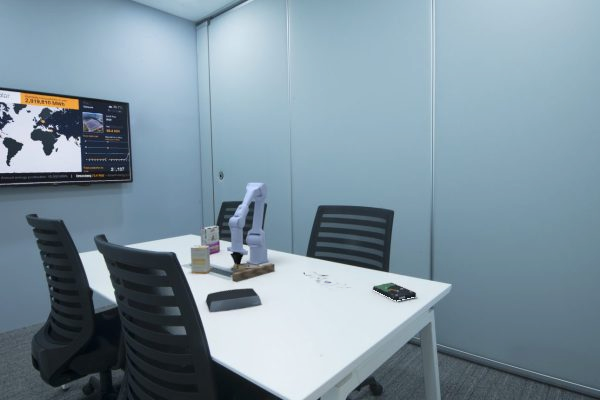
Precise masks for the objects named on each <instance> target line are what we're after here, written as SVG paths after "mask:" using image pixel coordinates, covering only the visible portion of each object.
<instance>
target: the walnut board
mask: <svg viewBox="0 0 600 400" xmlns="http://www.w3.org/2000/svg"><path fill="white" fill-rule="evenodd" d="M275 268H276V267H275V264H274V263H268V264H264V265H260V266H259V267H255V268H251V269H248V270H244V271H240V272H236V273H234V272H232V273H231V274H232V275H231V277H232V282H234V283H235V282H236V283H237V282H241V281H244V280H248V279H251V278H255V277H258V276H262V275H266V274H270V273H272V272H276V271H275Z"/></svg>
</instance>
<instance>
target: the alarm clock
mask: <svg viewBox="0 0 600 400" xmlns="http://www.w3.org/2000/svg"><path fill="white" fill-rule="evenodd" d="M259 266H261V265H260V264H253V263H248V262H243V263H240V264H238V265H237V264H234V263H233V265H232V267H230V271H231V272H232V273H236V272H240V271H244V270H248V269H251V268H255V267H259Z"/></svg>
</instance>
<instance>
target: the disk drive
mask: <svg viewBox="0 0 600 400" xmlns="http://www.w3.org/2000/svg"><path fill="white" fill-rule="evenodd" d="M373 290H375V291H377V292H379V293H381V294H383V295H385V296H387V297H390V298H391V299H393V300H396V301H397V300H402V299H407V298H411V297H416V298H417V292H415V291H413V290H410V289H408V288H406V287H403V286H401V285H398V284H396V283H393V282H387V283H382V284H379V285H373V287H372V291H373ZM385 296H384V297H385ZM387 297H386V298H387ZM391 299H390V300H391ZM393 300H392V301H393Z"/></svg>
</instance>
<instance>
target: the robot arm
mask: <svg viewBox="0 0 600 400" xmlns="http://www.w3.org/2000/svg"><path fill="white" fill-rule="evenodd" d="M245 187H246V188H245V191H246V193H245V196H244V198H243V200H242V203H241V204H239V205H238V207H236V208H237V209H236V211H235V212H234V215H233V216H232V217H230V218H229V220H228V223H227V224H228V227H229V231H230V236H231V237H230V241H231V242H230V243H231V246H227V247H226V251H227V252H231V253H230V256H231V258H232V260H233V265H234V264H237V265H238V264H242V263H241V262H242V259H243V257H244V256H248V255H249V260H247V261H246V263H253V264H258V265H260V264H263V263H264V264H265V263H267V262H268V263H269V260H268V249H267V246H266V243H267V238H266V231H264V230H263V228H262V227H263V222H264V221H263V220H264V210H265V203H266V202H265V201H266V198H267V193H268V187H267V185H266V183H265V182H248V183H247V185H246V186H245ZM253 200H254V207H253V208H254V209H253V217H252V218H253V219H252V220H253V221H252V227H251V228H250V229H249V230H248V231H247V236H246V239H245V242H246V244H247V246H248V247H249V250H246V249H245V248H244V243H243V239H244V238H243V237H244V235H243V232H244V231H243V230H244V229H243V228H244V227H245V225H246V217H247V215H248V213H249V211H250V208H249V206H250V205H251V203H252V202H253ZM248 252H249V254H248Z"/></svg>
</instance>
